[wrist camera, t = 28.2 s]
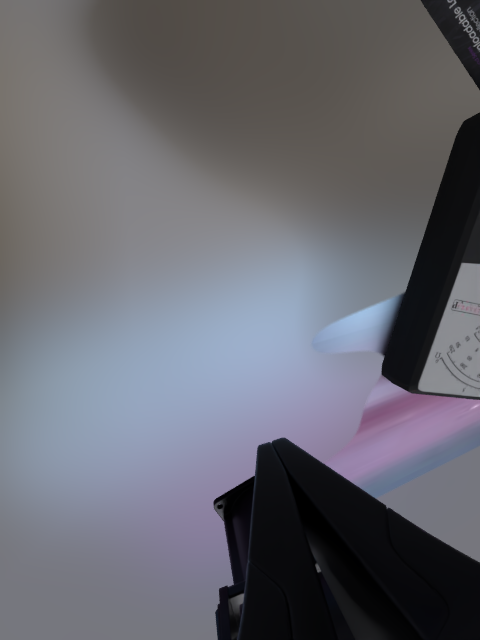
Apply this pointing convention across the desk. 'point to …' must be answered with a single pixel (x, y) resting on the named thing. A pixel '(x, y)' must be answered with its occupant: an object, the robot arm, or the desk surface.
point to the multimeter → (444, 287)
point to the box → (460, 30)
